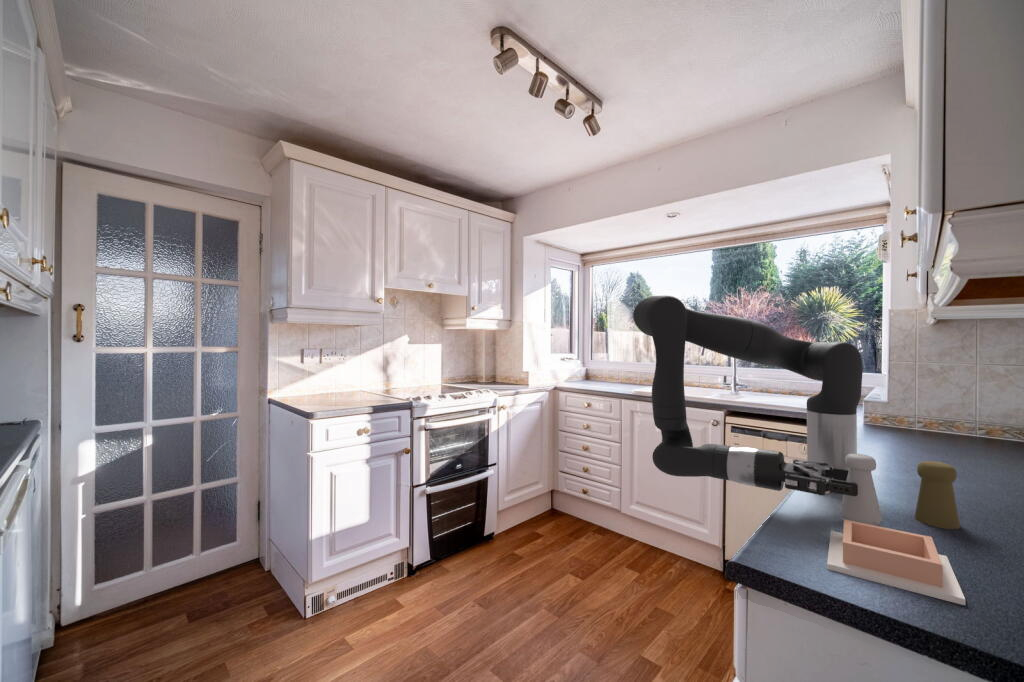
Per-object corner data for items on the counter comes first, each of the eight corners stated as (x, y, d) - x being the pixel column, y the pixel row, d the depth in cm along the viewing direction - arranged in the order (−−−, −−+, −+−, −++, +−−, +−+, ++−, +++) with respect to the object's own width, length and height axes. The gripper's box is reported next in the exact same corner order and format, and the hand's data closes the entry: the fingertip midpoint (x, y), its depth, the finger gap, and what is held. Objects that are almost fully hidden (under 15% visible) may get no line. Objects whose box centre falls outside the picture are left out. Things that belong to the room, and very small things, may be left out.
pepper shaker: (968, 526, 77) (968, 465, 77) (947, 531, 75) (946, 468, 75) (927, 513, 83) (927, 456, 83) (906, 517, 81) (906, 459, 81)
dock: (831, 535, 73) (831, 513, 73) (946, 561, 65) (946, 536, 65) (827, 569, 63) (827, 542, 63) (965, 605, 54) (965, 575, 54)
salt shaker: (876, 538, 72) (875, 461, 72) (835, 526, 77) (835, 454, 77) (886, 529, 76) (885, 455, 76) (846, 518, 80) (846, 449, 81)
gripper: (748, 455, 81) (858, 471, 71) (761, 442, 92) (857, 454, 82) (748, 495, 81) (858, 517, 71) (761, 477, 92) (858, 493, 82)
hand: (857, 483), depth 77 cm, fingers open, 8 cm apart
